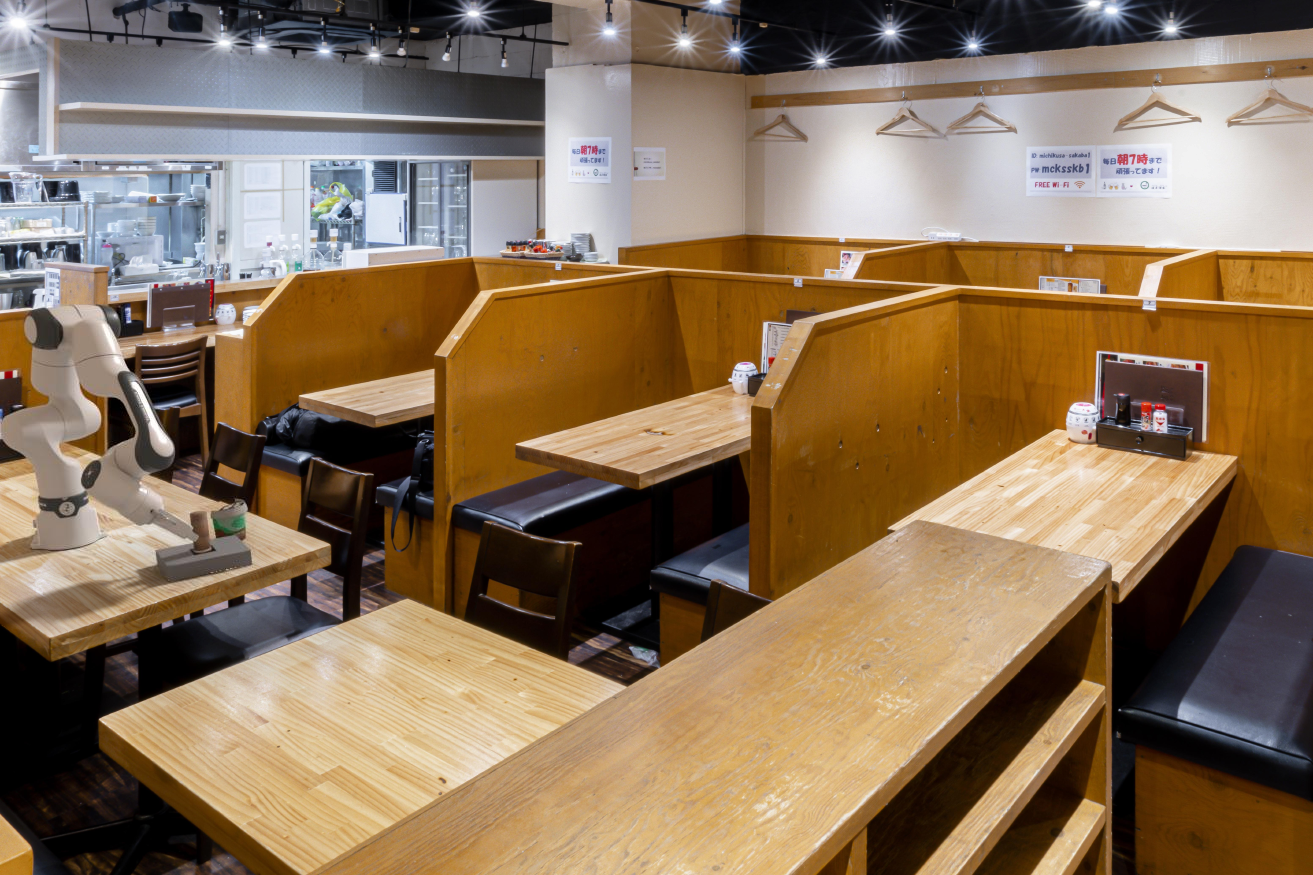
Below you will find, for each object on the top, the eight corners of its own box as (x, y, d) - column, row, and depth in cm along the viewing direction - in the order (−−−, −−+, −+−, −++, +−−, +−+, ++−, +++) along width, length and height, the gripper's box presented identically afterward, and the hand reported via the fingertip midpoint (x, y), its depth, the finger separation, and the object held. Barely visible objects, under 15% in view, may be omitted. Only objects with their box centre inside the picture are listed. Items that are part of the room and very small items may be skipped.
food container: (234, 547, 286) (230, 512, 284) (213, 546, 287) (209, 511, 285) (259, 533, 298) (255, 499, 295) (239, 531, 299) (236, 498, 297)
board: (157, 564, 274) (155, 550, 273) (237, 548, 285) (235, 534, 284) (169, 581, 262) (167, 566, 261) (252, 564, 273) (250, 550, 272)
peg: (193, 563, 274) (187, 512, 271) (210, 560, 276) (204, 509, 273) (197, 568, 271) (191, 516, 267) (214, 565, 273) (208, 513, 270)
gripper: (170, 504, 254) (214, 533, 263) (135, 488, 267) (178, 516, 277) (153, 526, 252) (198, 554, 261) (119, 509, 265) (163, 536, 274)
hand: (187, 534), depth 269 cm, fingers open, 8 cm apart
